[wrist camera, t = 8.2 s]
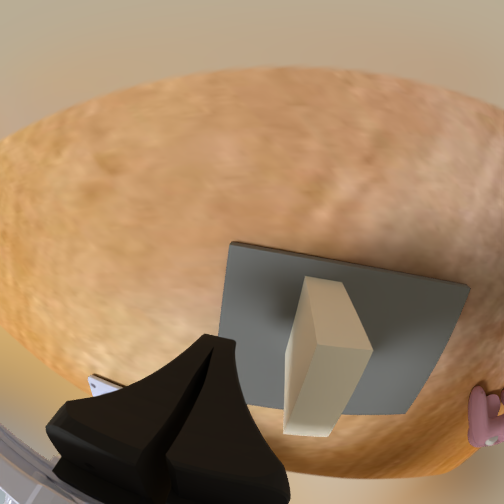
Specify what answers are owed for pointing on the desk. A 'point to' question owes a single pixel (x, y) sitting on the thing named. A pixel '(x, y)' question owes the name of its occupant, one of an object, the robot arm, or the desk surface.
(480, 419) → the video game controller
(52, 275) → the desk surface
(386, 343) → the mat
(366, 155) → the desk surface
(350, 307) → the block
